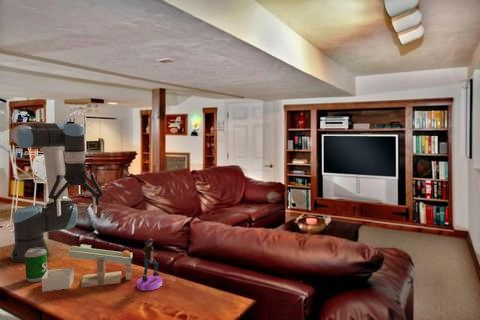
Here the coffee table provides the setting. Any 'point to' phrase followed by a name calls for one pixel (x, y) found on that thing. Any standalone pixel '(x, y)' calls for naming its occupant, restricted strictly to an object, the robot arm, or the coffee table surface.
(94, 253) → the lever
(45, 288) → the dish
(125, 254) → the ball
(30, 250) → the soda can
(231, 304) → the coffee table surface
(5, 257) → the coffee table surface
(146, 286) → the figurine
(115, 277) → the stand
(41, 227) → the robot arm
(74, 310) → the coffee table surface
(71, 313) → the coffee table surface
